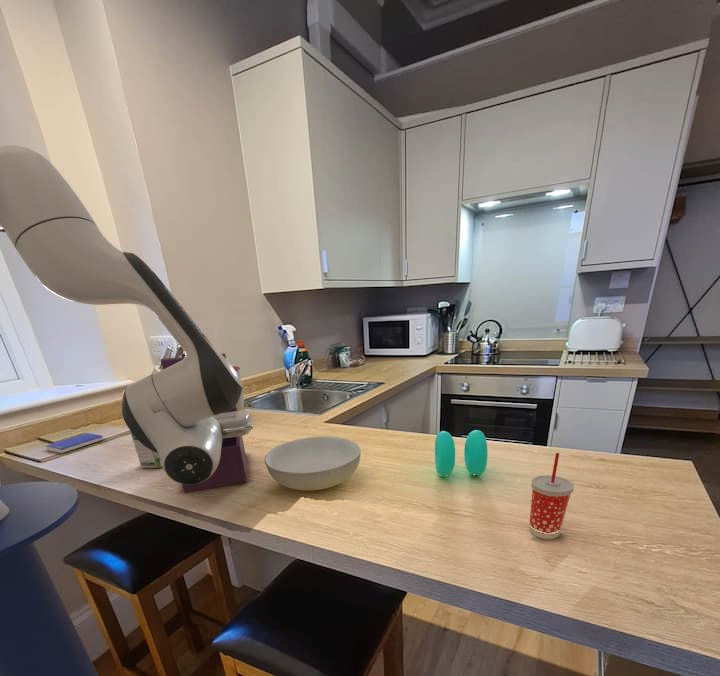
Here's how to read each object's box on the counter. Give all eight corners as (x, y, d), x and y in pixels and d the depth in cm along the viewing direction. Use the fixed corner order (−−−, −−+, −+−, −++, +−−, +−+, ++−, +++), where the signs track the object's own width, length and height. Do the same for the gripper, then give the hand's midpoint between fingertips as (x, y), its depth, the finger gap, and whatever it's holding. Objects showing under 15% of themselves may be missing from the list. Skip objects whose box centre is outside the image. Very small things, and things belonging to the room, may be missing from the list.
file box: (247, 482, 90) (239, 446, 86) (183, 492, 86) (173, 455, 83) (245, 455, 105) (239, 424, 101) (192, 463, 102) (184, 431, 98)
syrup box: (140, 468, 101) (122, 413, 94) (154, 459, 106) (138, 407, 100) (160, 468, 100) (144, 413, 94) (173, 459, 105) (159, 406, 99)
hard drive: (60, 448, 114) (102, 435, 124) (45, 445, 117) (86, 432, 127) (62, 453, 114) (103, 440, 124) (47, 450, 118) (88, 437, 128)
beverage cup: (537, 518, 69) (549, 443, 63) (571, 532, 65) (588, 453, 59) (516, 530, 66) (527, 453, 60) (551, 546, 62) (566, 464, 56)
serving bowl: (265, 471, 95) (260, 444, 92) (347, 457, 100) (346, 431, 97) (274, 510, 77) (269, 478, 74) (375, 491, 82) (373, 460, 79)
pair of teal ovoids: (486, 483, 82) (490, 439, 78) (438, 484, 83) (440, 440, 79) (476, 465, 91) (480, 423, 87) (433, 466, 92) (434, 425, 88)
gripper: (251, 413, 76) (249, 397, 88) (135, 427, 71) (150, 409, 83) (256, 444, 78) (254, 425, 90) (145, 459, 74) (159, 437, 86)
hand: (203, 417), depth 87 cm, fingers closed
